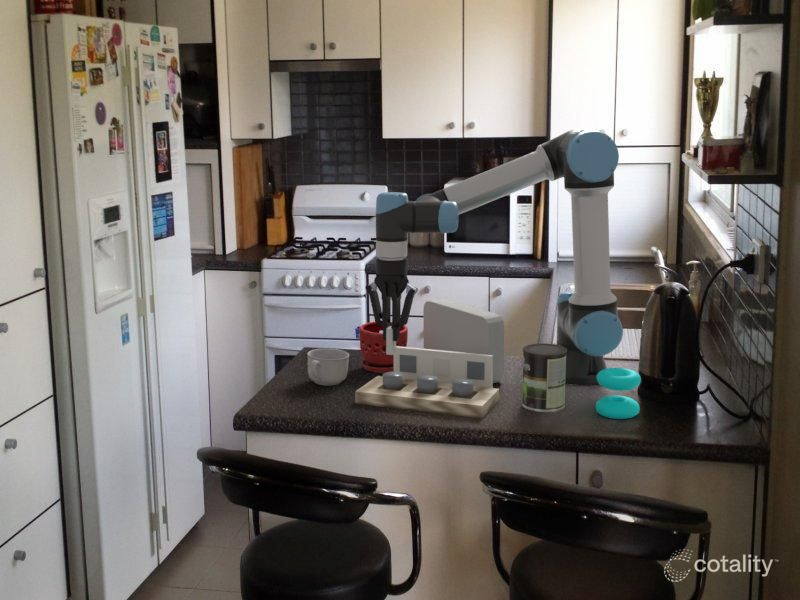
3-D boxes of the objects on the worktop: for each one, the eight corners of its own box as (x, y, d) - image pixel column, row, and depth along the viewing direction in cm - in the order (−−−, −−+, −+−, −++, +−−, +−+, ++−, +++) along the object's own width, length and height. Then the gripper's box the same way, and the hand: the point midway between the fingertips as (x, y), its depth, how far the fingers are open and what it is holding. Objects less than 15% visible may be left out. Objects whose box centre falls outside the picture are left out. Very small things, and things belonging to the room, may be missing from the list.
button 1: (406, 384, 238) (406, 372, 238) (398, 390, 234) (398, 378, 233) (387, 382, 240) (387, 370, 239) (379, 388, 235) (379, 376, 235)
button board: (499, 400, 235) (499, 388, 234) (482, 418, 222) (482, 405, 221) (377, 387, 246) (377, 375, 246) (355, 403, 234) (355, 391, 233)
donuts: (598, 365, 229) (641, 367, 226) (597, 405, 231) (640, 408, 228) (595, 376, 219) (640, 379, 217) (593, 418, 221) (638, 422, 219)
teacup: (326, 374, 258) (325, 345, 257) (358, 380, 252) (357, 351, 250) (291, 387, 247) (290, 357, 245) (323, 394, 241) (323, 363, 239)
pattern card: (494, 391, 242) (495, 353, 240) (489, 397, 237) (489, 358, 235) (398, 381, 251) (397, 344, 249) (391, 386, 247) (390, 348, 245)
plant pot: (354, 374, 258) (353, 330, 255) (367, 361, 270) (366, 319, 268) (401, 377, 255) (401, 333, 252) (412, 364, 267) (412, 321, 265)
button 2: (476, 392, 232) (476, 380, 231) (469, 398, 227) (469, 385, 226) (456, 390, 233) (456, 378, 233) (449, 395, 229) (449, 383, 228)
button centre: (440, 388, 235) (440, 376, 234) (433, 394, 230) (433, 382, 230) (421, 386, 237) (421, 374, 236) (414, 391, 232) (414, 379, 232)
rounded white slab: (510, 382, 250) (511, 314, 246) (487, 387, 246) (488, 318, 242) (445, 358, 273) (445, 296, 269) (423, 362, 269) (423, 299, 265)
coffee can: (524, 412, 226) (525, 354, 223) (520, 399, 236) (521, 343, 233) (568, 412, 226) (569, 354, 223) (562, 399, 236) (563, 343, 233)
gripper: (422, 257, 231) (421, 352, 236) (372, 253, 236) (372, 347, 241) (411, 261, 224) (410, 359, 229) (360, 258, 229) (360, 354, 234)
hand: (391, 353), depth 235 cm, fingers closed
